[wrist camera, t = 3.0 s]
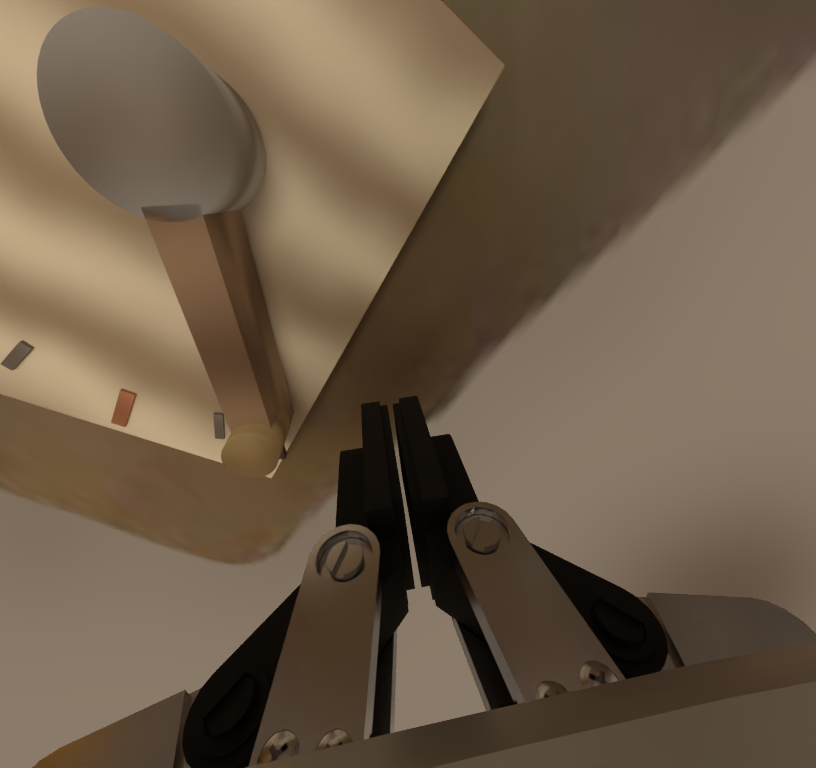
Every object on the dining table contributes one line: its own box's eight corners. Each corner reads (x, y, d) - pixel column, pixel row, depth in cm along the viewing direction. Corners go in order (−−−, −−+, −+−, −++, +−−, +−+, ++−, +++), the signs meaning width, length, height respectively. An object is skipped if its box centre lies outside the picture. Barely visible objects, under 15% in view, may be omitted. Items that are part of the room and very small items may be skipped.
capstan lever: (99, 62, 12) (-51, -14, 7) (245, 59, 12) (182, -16, 8) (245, 444, 21) (214, 511, 16) (327, 435, 21) (318, 497, 17)
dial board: (8, -365, 10) (-132, -589, 7) (481, 86, 16) (507, 63, 13) (-34, 340, 19) (-102, 365, 16) (280, 449, 25) (270, 480, 22)
